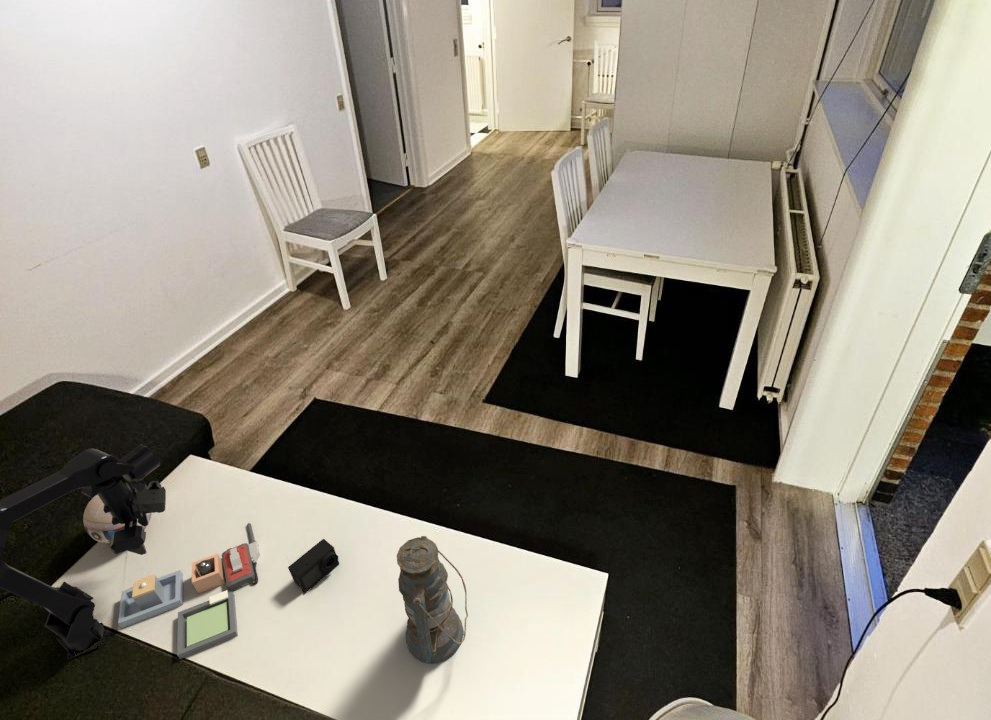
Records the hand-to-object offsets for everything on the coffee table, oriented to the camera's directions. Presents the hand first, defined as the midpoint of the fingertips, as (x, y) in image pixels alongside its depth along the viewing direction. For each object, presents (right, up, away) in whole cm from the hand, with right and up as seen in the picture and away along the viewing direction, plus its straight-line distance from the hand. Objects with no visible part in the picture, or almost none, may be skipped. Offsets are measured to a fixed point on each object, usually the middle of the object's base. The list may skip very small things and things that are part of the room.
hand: (145, 539), depth 136 cm
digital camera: (+41, -10, +3) cm, 42 cm away
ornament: (-15, -4, +17) cm, 23 cm away
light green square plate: (+19, -18, -7) cm, 27 cm away
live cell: (+3, -14, -1) cm, 15 cm away
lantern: (+72, -18, -11) cm, 75 cm away
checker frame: (+19, -18, -7) cm, 27 cm away
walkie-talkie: (+20, -8, +8) cm, 23 cm away
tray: (+3, -15, 0) cm, 15 cm away
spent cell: (+14, -11, +3) cm, 18 cm away
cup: (+14, -11, +4) cm, 19 cm away
